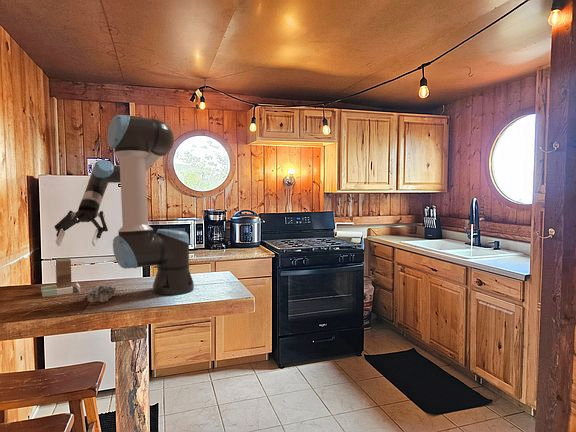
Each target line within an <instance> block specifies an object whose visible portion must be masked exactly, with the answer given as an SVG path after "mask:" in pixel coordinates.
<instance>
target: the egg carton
mask: <svg viewBox="0 0 576 432" xmlns="http://www.w3.org/2000/svg"><path fill="white" fill-rule="evenodd" d="M116 290H117V287H116V286H114V287H112V286H111V285H110V286H108V285H106V286H105V285H99V284H96V286H95V287H94V288H91V289H90V290H89V291H86V293H85V294H86V296H87V302H89V303H94V302H100V303H104V302H108V301H109V299H112V297H113V296H116V294H115V293H116Z"/></svg>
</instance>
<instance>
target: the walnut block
mask: <svg viewBox="0 0 576 432" xmlns="http://www.w3.org/2000/svg"><path fill="white" fill-rule="evenodd" d="M55 283H56V286H57V289H59V288H68V287H73V286H72V260H71V258H69V257H68V258H58V259H57V258H56V259H55Z"/></svg>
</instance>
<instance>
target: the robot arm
mask: <svg viewBox="0 0 576 432" xmlns="http://www.w3.org/2000/svg"><path fill="white" fill-rule="evenodd" d="M174 143H175V136H174V133H173V131H172V129H171V127H170V126H169V125H168V124H167V123H166V122H164V121H163V120H161V119H159V118H158V119H157V118H148V117H141V116H136V115H129V114H127V115H124V114H116V115H114V117H112V118H111V120H110V122H109V125H108V129H107V145H108V147H109V148H111V149H114V150H113V152H114V153H113V154H114V155H115V156H116V157H117V158H118V161H119V165H114V164H113V163H112V162H111V161H108V160H106V159H100V160H97V161H95V163H94V165H93V167H92V170H91V173H90V177H89V179H88V181H87V185H86V188H85V191H84V193H83V194H82V198H81V200H80V203H79V206H78V208H77V211H73V210H69V211H68V213H67V214H66V215H65V216H64V217H62V219H61V220H59V221H58V222H57V223H56V224H55V225H54V226H53V227H54V229H55V230H56V232H57V233H56V240H55V244H56V245H57V247H61V245H62V242H63V239H64V237H65V234H66V232H65V231H67V230H69V229H70V228H72V227H73V226H75V225H76V224H77V225H78V224H79V223H90V222H91V223H92V224H93V225H94V226H95V231H94V233H93V237H92V240H91V243H92V247H96V246H97V243H98V240H99V239H101V237H102V234H103V232H105V233H106V232H108V230H109V229H108V226H107V223H106V220H105V216H106V215H105V213H104V211H103V210H101V211H99V210H100V206H101V204H102V201H103V198H104V195H105V192H106V191H107V190H106V189H107V187H108V185H109V183H111V184H112V183H113V184H120V197H121V198H120V199H121V200H120V201H121V215H122V217H121V219H122V226H121V228H120V229H119V230H118V233H117V236H114V238H113V240H112V249H113V255H114V258H115V260H116V262H117V264H118V265H119V267H121V268H122V269H138V268H142V267H143V268H144V267H153V266H157V270H156V274H155V277H154V279H153V283H152V292H153V293H154V294H156V295H157V294H158V295H162V296H163V295H165V296H171V295H173V296H174V295H175V296H176V295H182V294H186V293H190V292H193V290H194V288H195V285H194V283H195V282H194V280H193V277H192V275H191V271H190V238H189V236H190V235H189V233H187V231H183V230H175V229H167V228H163V229H162V228H158V229H157V230H156V233H154V228H152V227H151V226H150V225H149V211H148V210H149V209H148V192H147V171H148V170H149V169H151V168H152V166H153V165H154V164H155V163H156V162H157V161H158V160H159V159H160V158H161V157H164V156H166V155H168V154H169V153H170V152H171V150H172V149H173V147H174ZM97 217H98V218H100V222H101V224H102V226H101V225H100V224H99V223H98V221H97V220H96V219H95V218H97Z"/></svg>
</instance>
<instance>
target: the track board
mask: <svg viewBox="0 0 576 432" xmlns="http://www.w3.org/2000/svg"><path fill="white" fill-rule="evenodd" d="M40 288H41V289H40V293H41V296H42V297H51V296H53V297H54V296H61V295H66V294H67V295H68V294H77V293H81V286H80V284H79V282H76V283H75V286H74V287H73V286H72V287H68V288H59V289H57V286H56V285H47V286H41V287H40Z"/></svg>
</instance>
